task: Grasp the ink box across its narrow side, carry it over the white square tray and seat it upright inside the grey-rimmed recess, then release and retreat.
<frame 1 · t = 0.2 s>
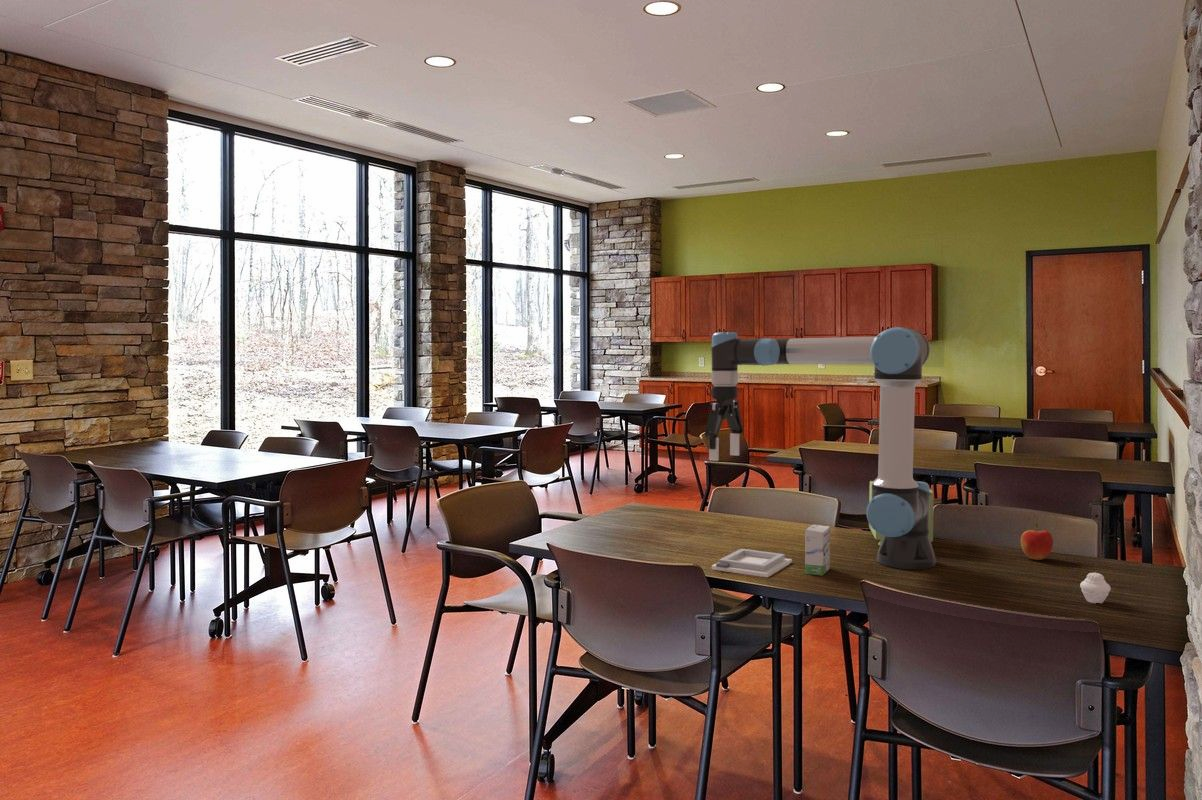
hand: (724, 458, 249), 28 cm above the table, fingers open, 13 cm apart
apple: (1036, 560, 239), on the table
container: (899, 542, 262), on the table
muffin: (1094, 602, 199), on the table
ink box: (817, 572, 228), on the table
white square tray: (752, 565, 234), on the table
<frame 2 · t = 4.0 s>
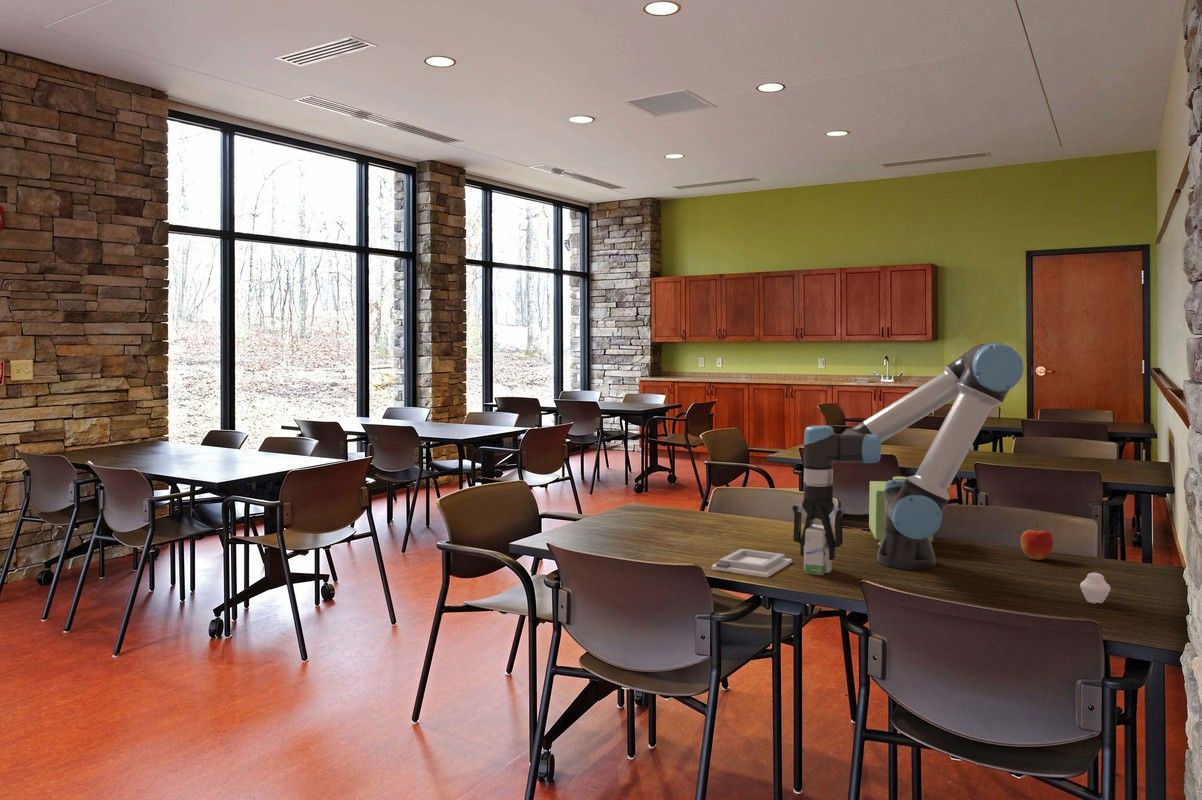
hand: (817, 569, 228), 0 cm above the table, fingers closed on ink box, 5 cm apart
ink box: (817, 571, 228), on the table, touching gripper
everything else where it was.
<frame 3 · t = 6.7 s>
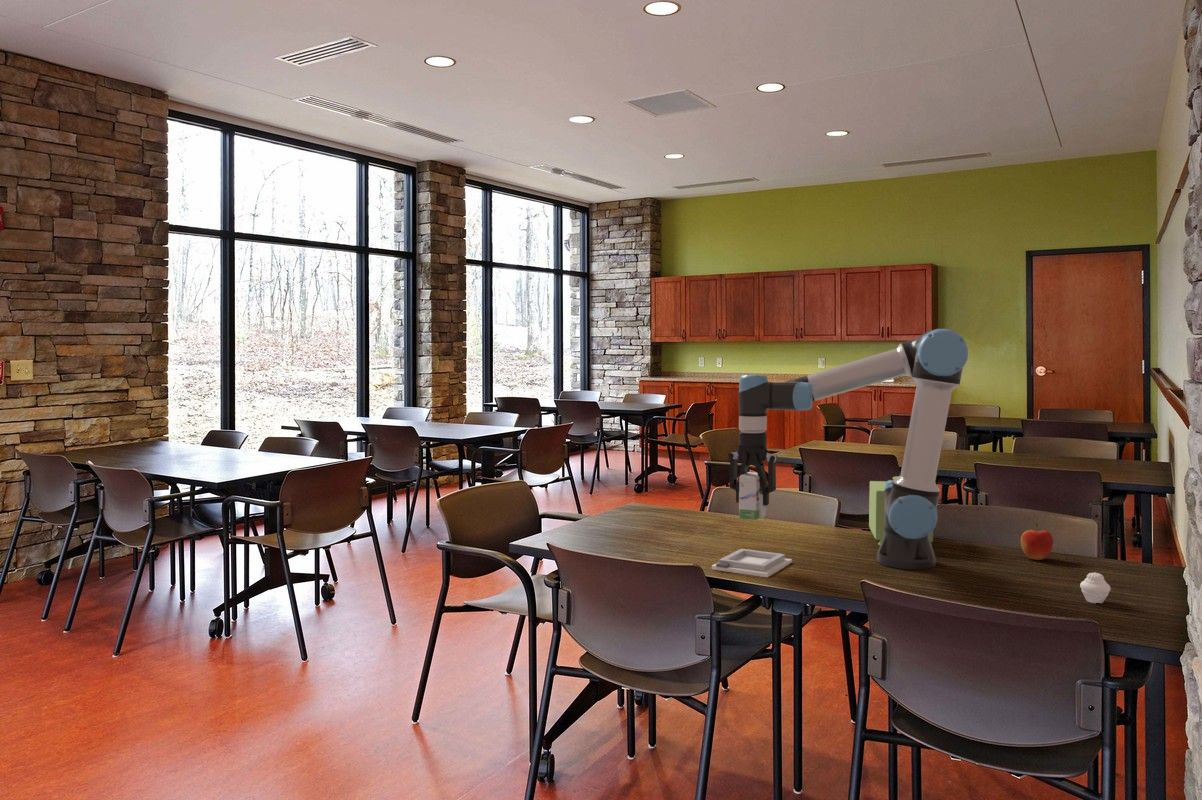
hand: (752, 515, 233), 14 cm above the table, fingers closed on ink box, 5 cm apart
ink box: (752, 517, 233), point 13 cm above the table, touching gripper
everything else where it was.
when the fingers open (4 cm above the table, at t = 9.1 s): ink box drops 2 cm, resting on white square tray.
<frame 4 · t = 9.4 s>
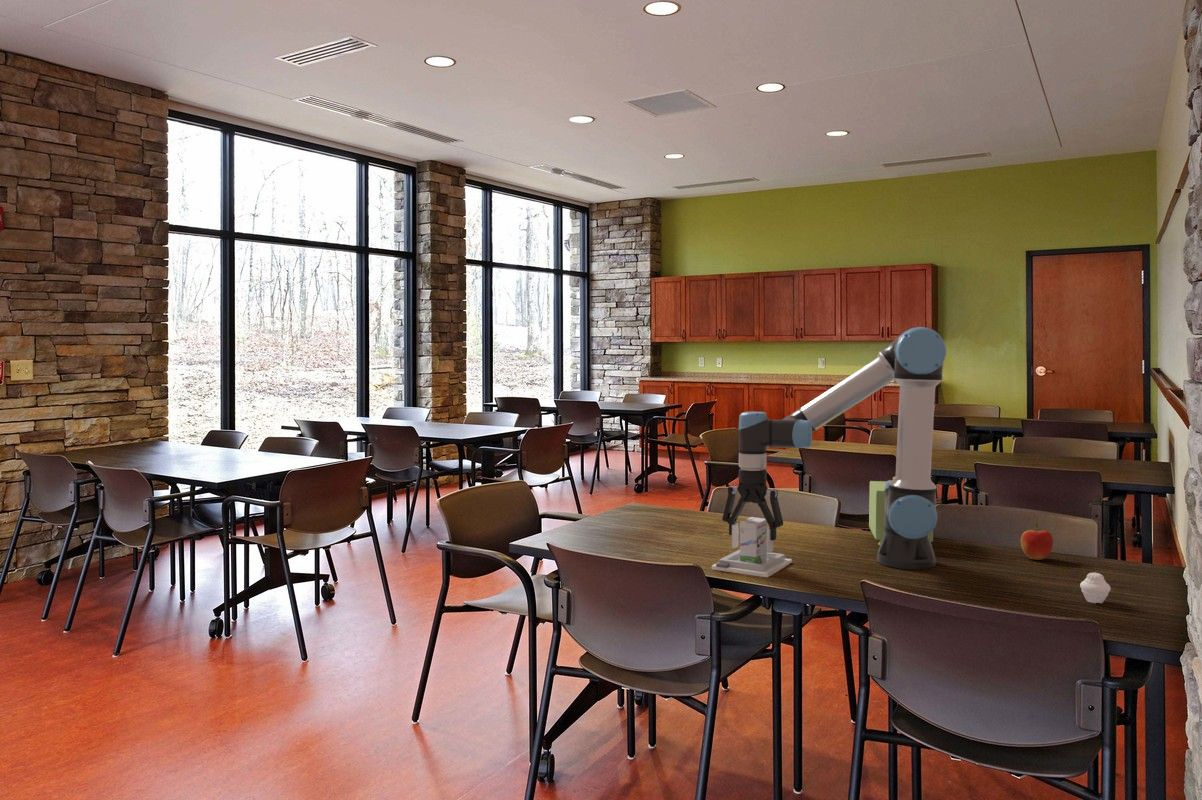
hand: (752, 549, 234), 5 cm above the table, fingers open, 9 cm apart
ink box: (753, 563, 234), point 1 cm above the table, touching white square tray
everything else where it was.
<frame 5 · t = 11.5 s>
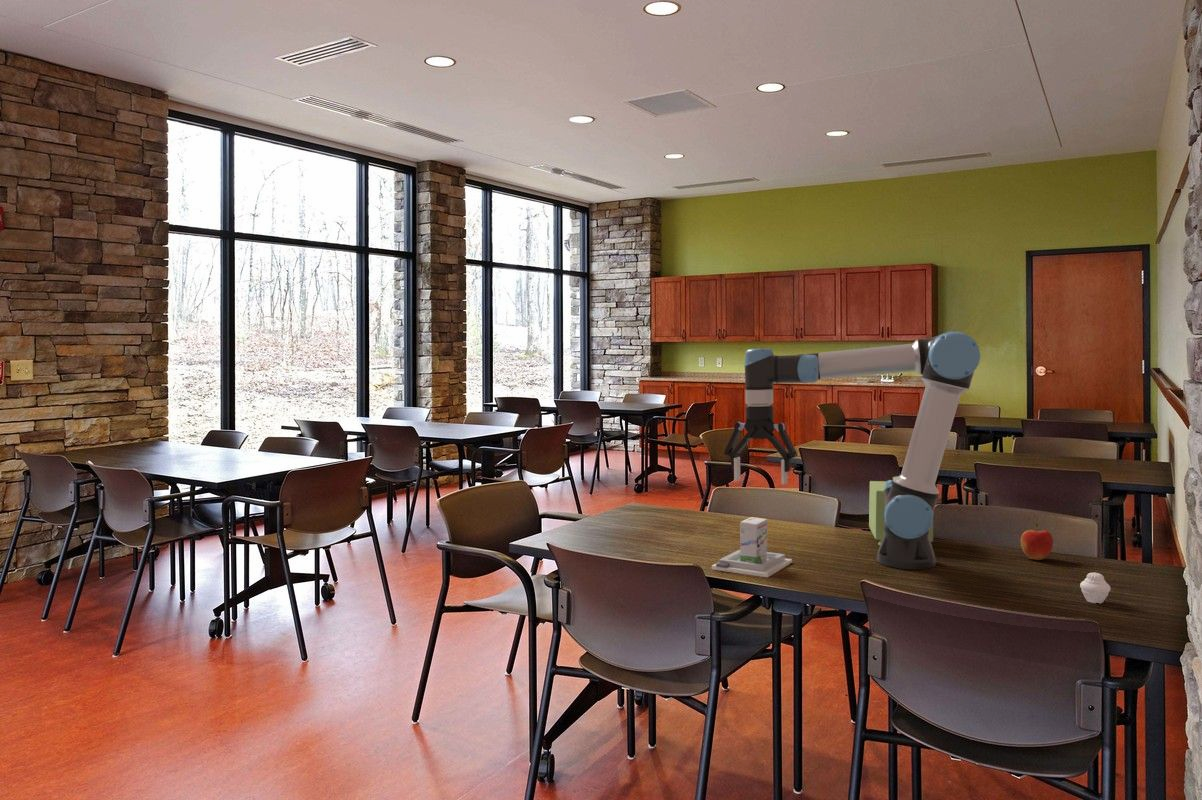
hand: (760, 482, 234), 23 cm above the table, fingers open, 13 cm apart
nothing on the table moved.
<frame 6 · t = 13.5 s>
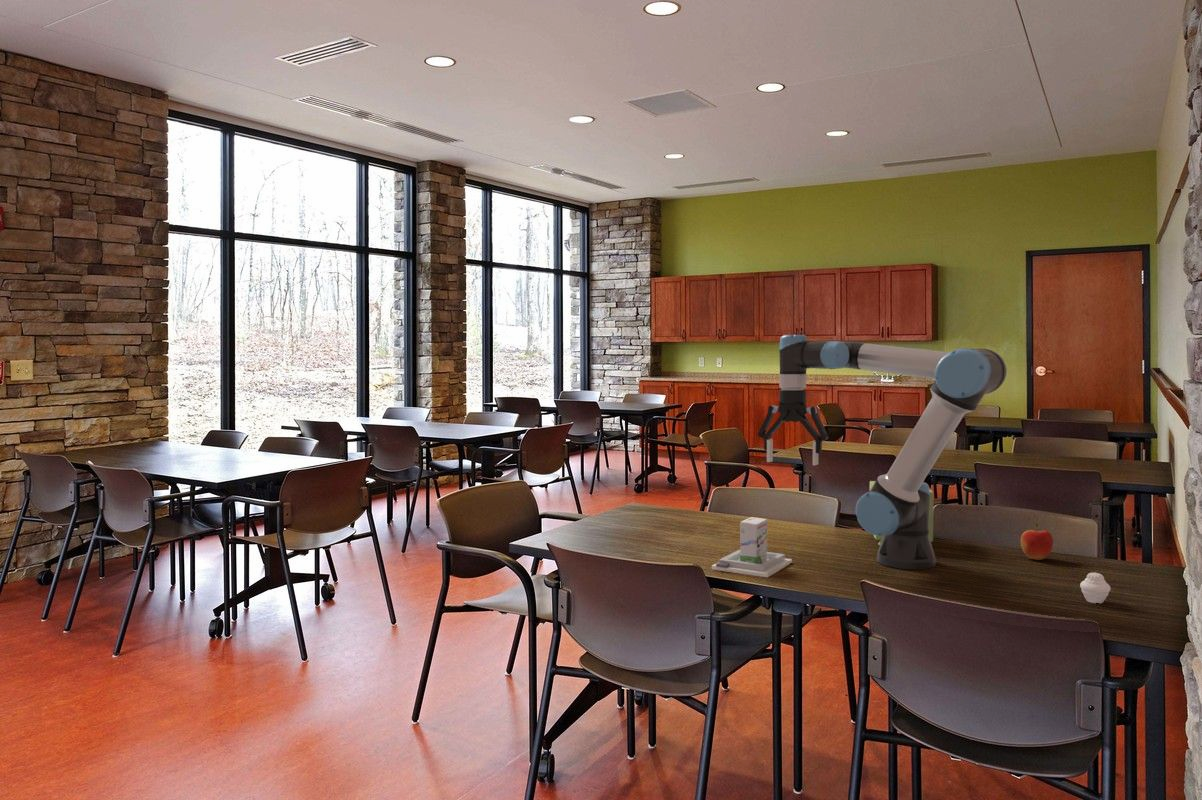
hand: (792, 463, 244), 27 cm above the table, fingers open, 13 cm apart
nothing on the table moved.
at the end: ink box inside the target area on the white square tray (0.4 cm from its centre), point 0.8 cm above the white square tray's base; ink box tilted 0°; the gripper is holding nothing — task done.
